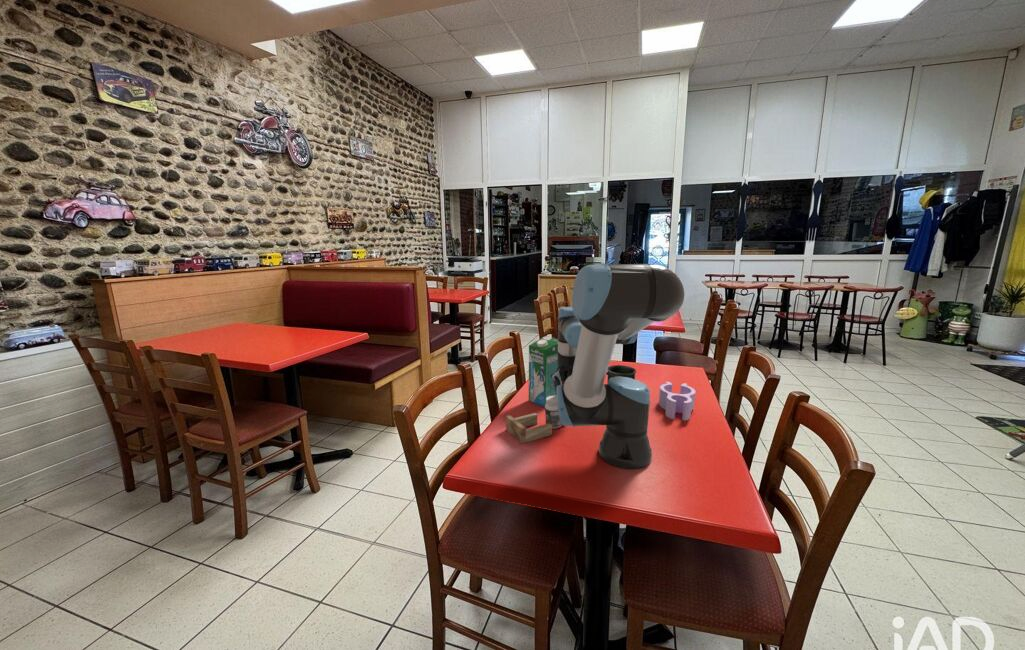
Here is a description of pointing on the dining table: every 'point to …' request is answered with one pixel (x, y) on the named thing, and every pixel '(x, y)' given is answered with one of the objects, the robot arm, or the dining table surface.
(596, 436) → the dining table surface
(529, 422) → the channel
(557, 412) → the pill bottle
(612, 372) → the mug
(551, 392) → the milk carton
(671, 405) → the clip
